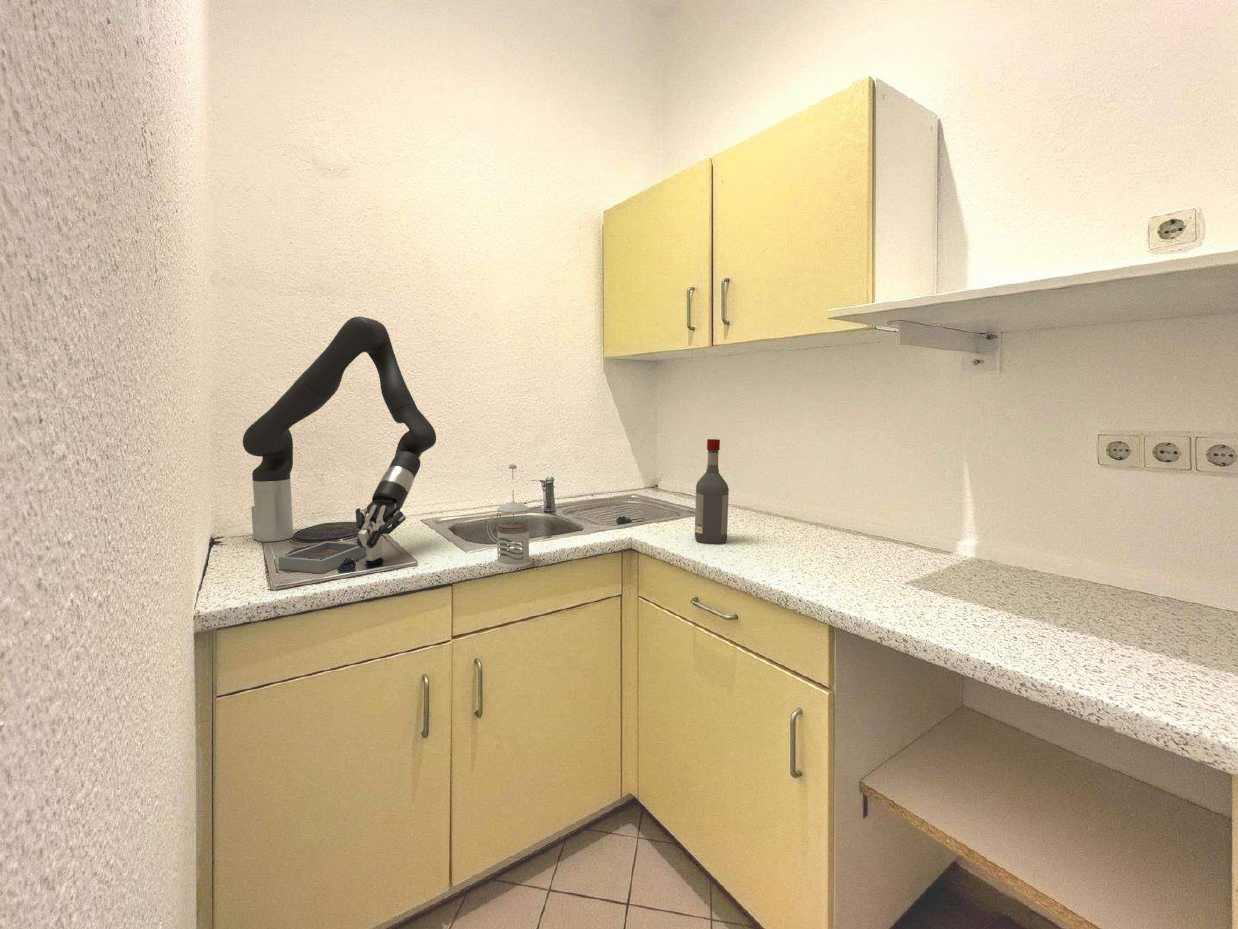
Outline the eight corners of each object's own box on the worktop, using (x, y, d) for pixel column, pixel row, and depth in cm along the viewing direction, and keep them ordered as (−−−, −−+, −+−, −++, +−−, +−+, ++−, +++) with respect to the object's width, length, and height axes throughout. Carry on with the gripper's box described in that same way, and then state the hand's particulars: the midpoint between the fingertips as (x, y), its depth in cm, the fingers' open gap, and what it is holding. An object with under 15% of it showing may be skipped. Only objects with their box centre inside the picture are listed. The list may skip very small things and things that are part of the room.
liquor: (724, 537, 171) (728, 438, 168) (727, 544, 162) (731, 440, 159) (694, 536, 172) (697, 438, 168) (695, 543, 163) (698, 440, 159)
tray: (279, 569, 133) (278, 557, 133) (327, 552, 149) (327, 541, 148) (322, 573, 131) (322, 561, 130) (367, 555, 146) (367, 544, 146)
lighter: (376, 555, 141) (375, 524, 140) (382, 556, 140) (381, 524, 140) (358, 563, 134) (357, 530, 133) (364, 564, 134) (363, 531, 133)
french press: (525, 569, 136) (524, 466, 133) (480, 565, 138) (478, 465, 136) (538, 558, 146) (538, 462, 143) (496, 555, 148) (495, 460, 145)
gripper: (363, 477, 144) (331, 536, 133) (412, 480, 141) (383, 540, 130) (377, 495, 149) (347, 552, 139) (424, 498, 146) (397, 556, 136)
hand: (364, 546), depth 135 cm, fingers closed on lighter, 2 cm apart
